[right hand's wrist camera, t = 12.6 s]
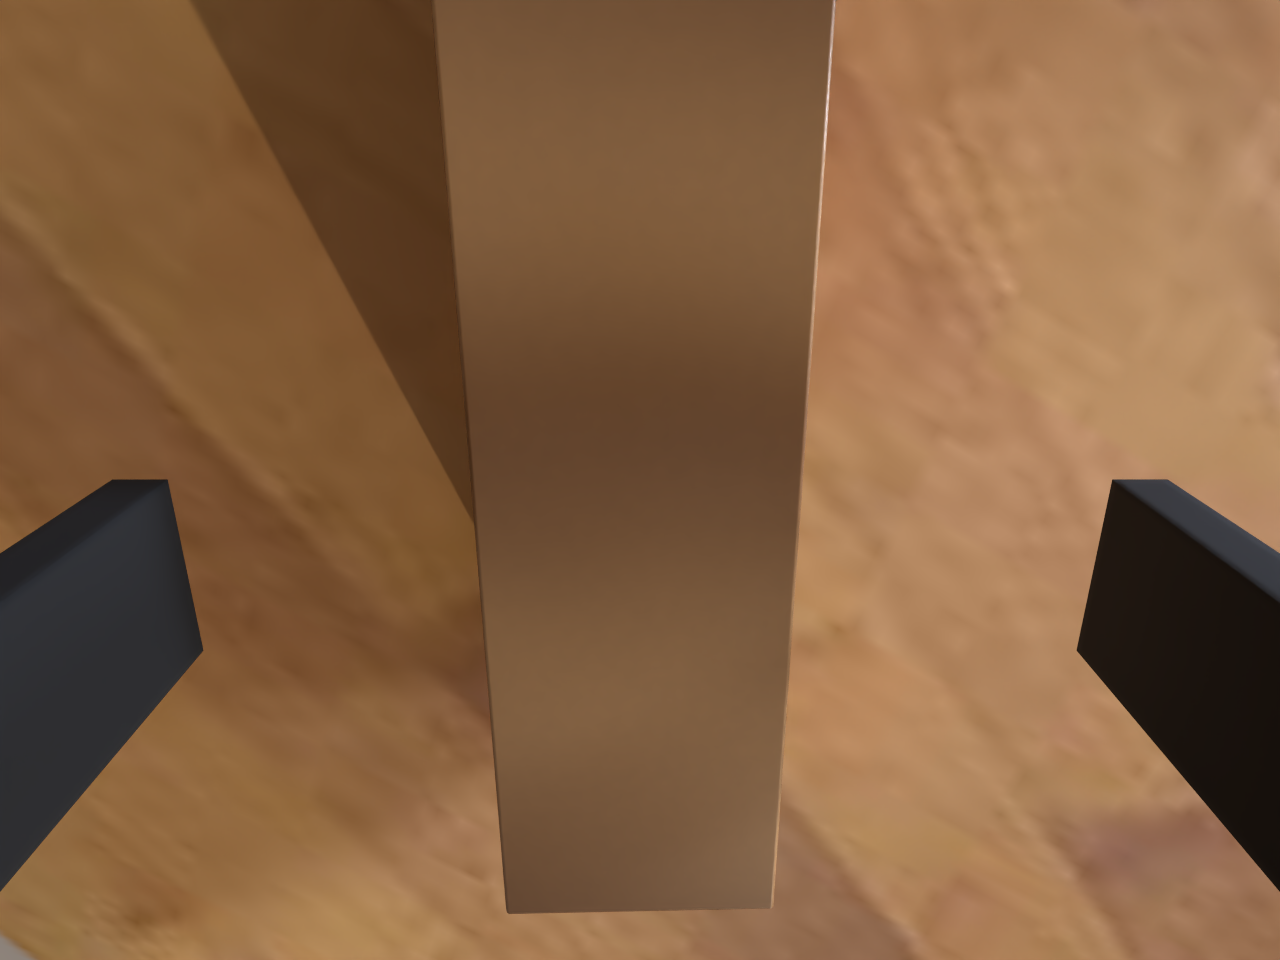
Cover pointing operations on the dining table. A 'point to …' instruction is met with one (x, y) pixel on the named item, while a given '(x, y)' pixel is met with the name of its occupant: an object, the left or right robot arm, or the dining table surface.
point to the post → (636, 424)
